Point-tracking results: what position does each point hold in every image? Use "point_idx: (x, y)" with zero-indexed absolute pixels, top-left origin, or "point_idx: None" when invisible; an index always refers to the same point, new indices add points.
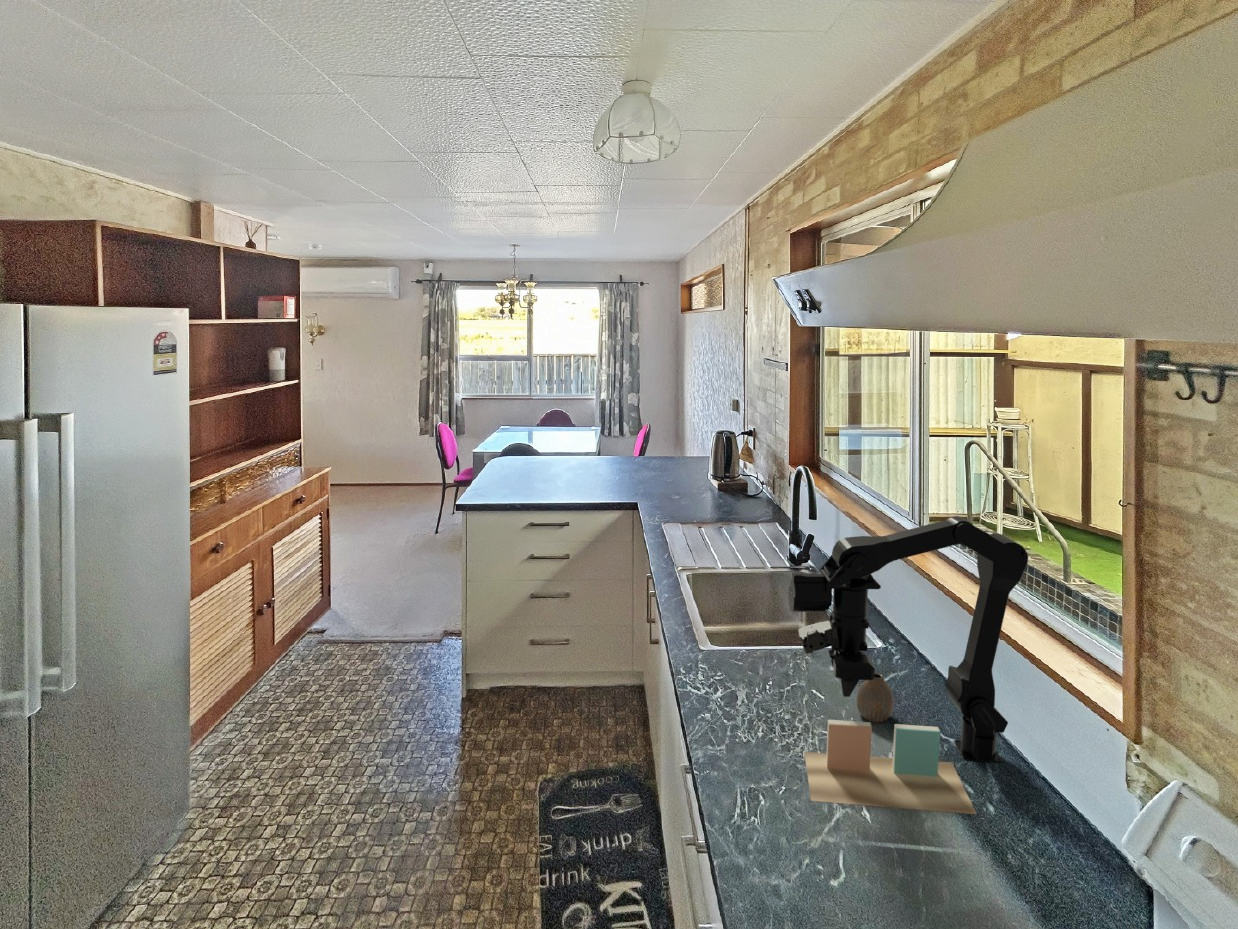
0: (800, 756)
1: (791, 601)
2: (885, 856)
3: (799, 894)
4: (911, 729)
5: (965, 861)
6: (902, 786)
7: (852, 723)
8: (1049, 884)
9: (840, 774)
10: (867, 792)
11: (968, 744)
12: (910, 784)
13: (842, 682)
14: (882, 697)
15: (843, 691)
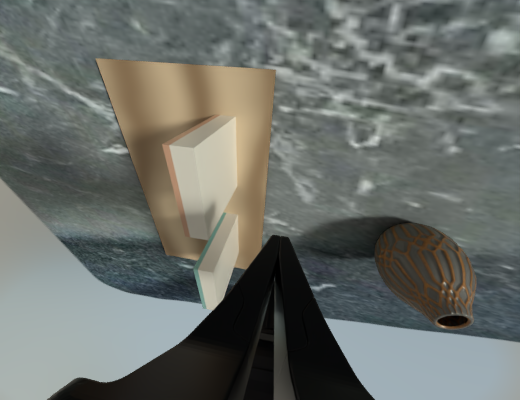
0: (265, 58)
1: None
2: (47, 150)
3: None
4: (199, 285)
5: (93, 220)
6: None
7: (190, 206)
8: (101, 258)
9: None
10: (162, 165)
11: (273, 300)
12: None
13: (239, 280)
14: (390, 283)
15: (262, 248)
